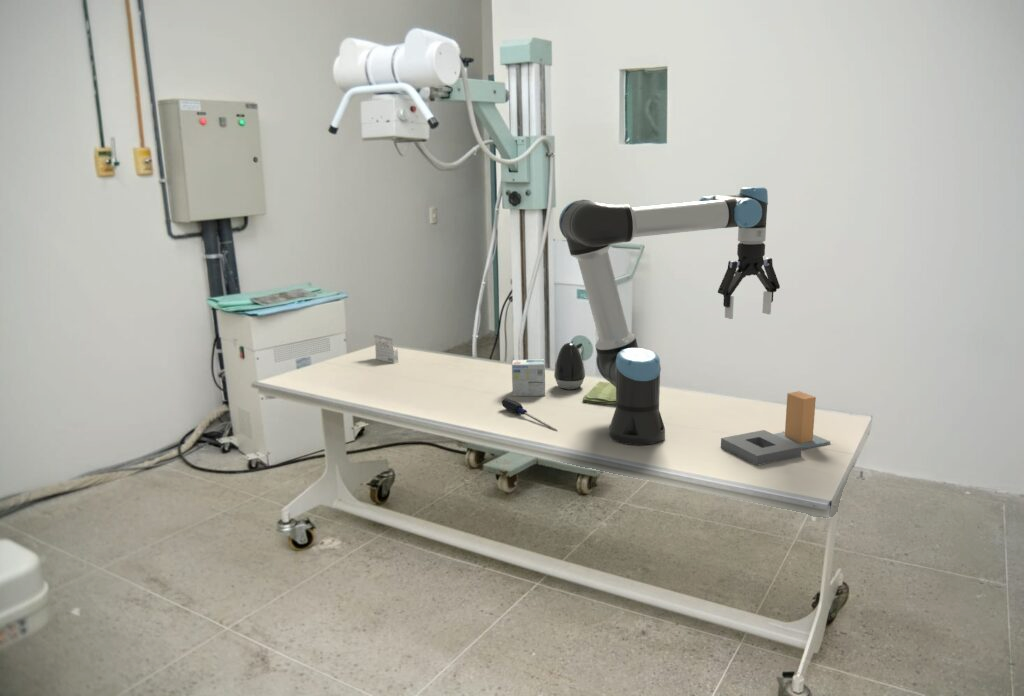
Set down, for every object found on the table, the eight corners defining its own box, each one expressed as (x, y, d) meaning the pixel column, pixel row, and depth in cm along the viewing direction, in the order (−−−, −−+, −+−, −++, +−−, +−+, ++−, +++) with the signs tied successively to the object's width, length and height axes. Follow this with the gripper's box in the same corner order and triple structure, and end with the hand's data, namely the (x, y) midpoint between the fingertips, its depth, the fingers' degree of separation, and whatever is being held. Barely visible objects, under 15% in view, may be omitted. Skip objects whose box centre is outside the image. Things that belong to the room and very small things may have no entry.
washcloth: (580, 404, 246) (580, 394, 246) (597, 388, 262) (597, 379, 261) (621, 408, 241) (621, 398, 241) (636, 392, 257) (636, 383, 256)
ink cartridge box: (380, 358, 308) (378, 333, 305) (398, 362, 300) (397, 337, 298) (375, 359, 306) (373, 334, 304) (393, 363, 299) (392, 338, 296)
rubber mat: (797, 450, 203) (797, 448, 203) (768, 437, 213) (768, 434, 213) (830, 443, 208) (830, 441, 207) (800, 430, 217) (800, 428, 217)
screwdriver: (562, 430, 223) (562, 417, 222) (552, 433, 221) (552, 420, 220) (509, 408, 243) (509, 396, 243) (499, 410, 241) (499, 398, 241)
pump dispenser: (591, 387, 262) (591, 343, 258) (567, 393, 256) (567, 348, 253) (572, 381, 270) (572, 337, 266) (548, 386, 264) (547, 342, 261)
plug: (800, 443, 207) (803, 399, 204) (784, 435, 212) (787, 393, 209) (812, 440, 208) (815, 397, 205) (796, 433, 214) (799, 391, 211)
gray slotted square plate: (756, 465, 194) (756, 455, 194) (720, 447, 207) (721, 438, 206) (800, 456, 199) (801, 446, 199) (763, 438, 212) (763, 429, 211)
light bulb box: (545, 390, 261) (544, 358, 258) (545, 396, 254) (545, 363, 251) (512, 390, 261) (512, 359, 258) (512, 396, 254) (511, 364, 252)
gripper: (723, 246, 216) (720, 322, 221) (795, 240, 225) (790, 313, 230) (707, 244, 223) (704, 317, 228) (777, 238, 232) (773, 309, 237)
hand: (747, 315), depth 229 cm, fingers open, 13 cm apart
